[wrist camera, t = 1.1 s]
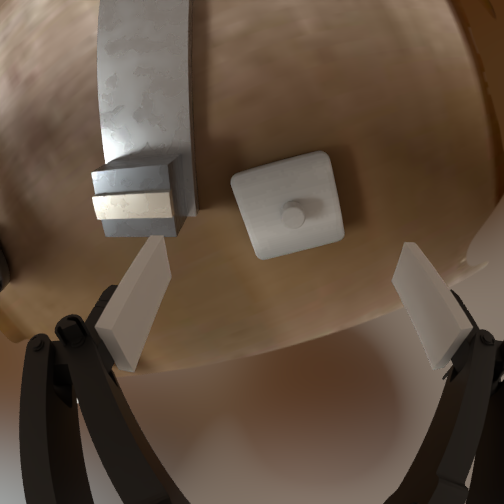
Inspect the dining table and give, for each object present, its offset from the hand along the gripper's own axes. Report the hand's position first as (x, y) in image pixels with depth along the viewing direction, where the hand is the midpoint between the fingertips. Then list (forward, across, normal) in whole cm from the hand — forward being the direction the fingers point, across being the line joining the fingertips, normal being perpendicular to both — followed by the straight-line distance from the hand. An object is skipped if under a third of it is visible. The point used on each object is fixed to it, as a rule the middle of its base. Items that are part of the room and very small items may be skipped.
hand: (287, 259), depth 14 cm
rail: (+16, -13, +14) cm, 25 cm away
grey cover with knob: (+16, -1, +1) cm, 17 cm away
